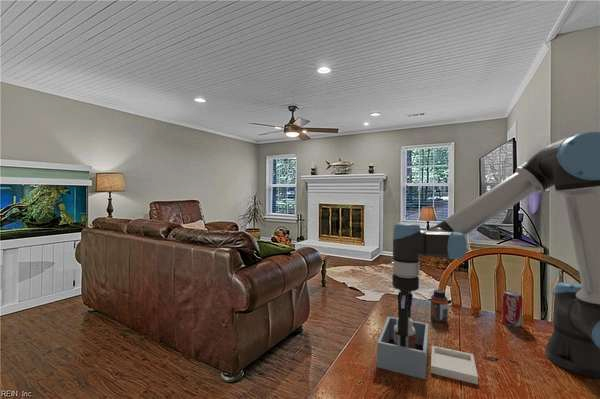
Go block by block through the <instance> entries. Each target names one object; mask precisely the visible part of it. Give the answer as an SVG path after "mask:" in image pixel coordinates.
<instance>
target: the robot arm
mask: <svg viewBox="0 0 600 399" xmlns="http://www.w3.org/2000/svg"><path fill="white" fill-rule="evenodd" d="M553 186H554V190H555V192H556V193H558V194H559V195H561V196H563V197H564V201H565V206H566V210H567V216H568V222H569V226H570V231H571V232H570V233H571V236H572V241H573V247H574V250H575V251H574V252H575V257H576V262H577V267H578V273H579V277H580V278H579V279H580V283H578V282H577V283H576V282H558V283H556V284H555V286H554V292H553V295H554V297H553V298H554V299H553V302H554V305H553V330H552V333H551V335H550V336H549V337H550V338H549V340H548V341H547V343H546V345H545V356H546V358H547V359H548V360H550V361H551V362H552V363H553V364H556V365H557V366H559V367H561V368H563V369H565V370H568V371H570V372H571V373H572V372H573V373H575V374H579V375H582V376H586V377H590V378H594V379H600V131H587V132H586V131H585V132H582V133H576V134H573V135H569V136H567V137H565V138H563V139H561V140H557V141H554V142H552V143H549V144H548V145H546V146H544V147H543V148H542V149H541V150H539V151H537V152H536V153H535V154H534V155H533V156H531V157H530V158H529V159H527V160H526V161H524V162H523V163H521V165H519V166H517V167H516V168H515V173H513V174H512V175H510V176H509V177H507V178H505V179H504V180H503V181H501V182H499V183H497V185H495V186H494V187H492V188H490V189H488V191H486V192H484V193H483V194H481V195H479V196H478V197H477V198H476V199H473V200H472V201H471V202H469V203H468V204H466V205H465V206H464V207H462V208H460V209H458V210H457V211H455V212H454V213H453V214H451V215H449V216H448V217H447V218H445V219H443V220H442V221H441V222H439V223H437V224H436V225H434V226H430V227H429V228H428V229H427V230H421V226H420V224H418V223H413V222H398V223H395V224H394V226H393V235H392V261H391V262H390V265H391V266H392V273H393V274H392V278H391V279H392V284H391V285H392V287H393V288H394V289H396V290H399V291H398V293H397V309H398V310H397V312H398V313H397V317H398V332H396V334H397V335H398V346H403V347H407V348H408V317H409V318H411V319H412V305H413V292H415V291H418V290H419V287H420V277H419V275H420V257H428V258H429V257H430V258H437V259H438V258H441V259H450V260H454V259H457V260H462V259H464V258H465V257H466V255H467V239H466V236H467V235H469V234H470V233H472V232H474V231H475V230H477V229H478V228H479V227H481V226H483V225H485V224H486V223H487V222H488V223H489V221H491V220H492V219H494V218H495V217H498V216H499V215H500V214H501V215H502V213H504V212H506V211H507V210H508V209H510V208H511V207H513V206H515V205H517V204H518V203H520V202H521V201H523V200H524V199H526V198H527V197H530V196H532V194H534V193H543V192H544V191H545V190H547V189H550V188H551V187H553Z"/></svg>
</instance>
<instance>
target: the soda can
mask: <svg viewBox="0 0 600 399" xmlns="http://www.w3.org/2000/svg"><path fill="white" fill-rule="evenodd" d="M501 299H502V300H501V322H503V324H504V325H506V326H508V327H511V326H513V327H512V328H519V327H521V326H522V325H523V309H524V308H523V306H524V305H523V301H524V300H523V296H522V295H521V293H519V292H517V291H513V290H511V291H510V290H504V291H503V294H502V298H501Z"/></svg>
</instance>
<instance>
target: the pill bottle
mask: <svg viewBox="0 0 600 399" xmlns="http://www.w3.org/2000/svg"><path fill="white" fill-rule="evenodd" d="M396 318H397V321H396V322H397V324H396V325H395V326H394V339H393V345H398V335H397V334H396V332H398V316H397V317H396ZM413 321H414V320H413V318H412V317H411V318H409V317H408V348H412V349H416V344H415V328H414V327H413Z"/></svg>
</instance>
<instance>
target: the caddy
mask: <svg viewBox="0 0 600 399" xmlns="http://www.w3.org/2000/svg"><path fill="white" fill-rule="evenodd" d="M396 321H397V317H394V316H393V317H392V316H387V318H386V320H385V323H384V325H383V328H382V330H381V332H380V335H379V337H378V339H377V342H376V343H377V344H376V368H379V369H383V370H387V371H391V372H395V373H398V374H403V375H406V376H409V377H414V378H418V379H422V380H424V381H425V380H426V377H427V366H428V365H427V364H428V350H429V323H424V322H421V321H414V320H413V327H414V328H415V345H418V346H422V348H423V349H422V350H420V349H416V348H415V349H412V348H407V347H403V346H398V345H394V343H389V342H390V340H394V326H395V325H396V324H397V322H396Z"/></svg>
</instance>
